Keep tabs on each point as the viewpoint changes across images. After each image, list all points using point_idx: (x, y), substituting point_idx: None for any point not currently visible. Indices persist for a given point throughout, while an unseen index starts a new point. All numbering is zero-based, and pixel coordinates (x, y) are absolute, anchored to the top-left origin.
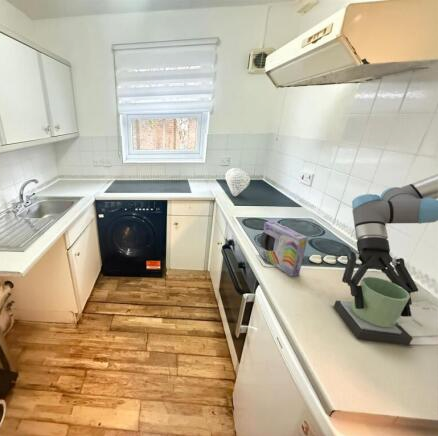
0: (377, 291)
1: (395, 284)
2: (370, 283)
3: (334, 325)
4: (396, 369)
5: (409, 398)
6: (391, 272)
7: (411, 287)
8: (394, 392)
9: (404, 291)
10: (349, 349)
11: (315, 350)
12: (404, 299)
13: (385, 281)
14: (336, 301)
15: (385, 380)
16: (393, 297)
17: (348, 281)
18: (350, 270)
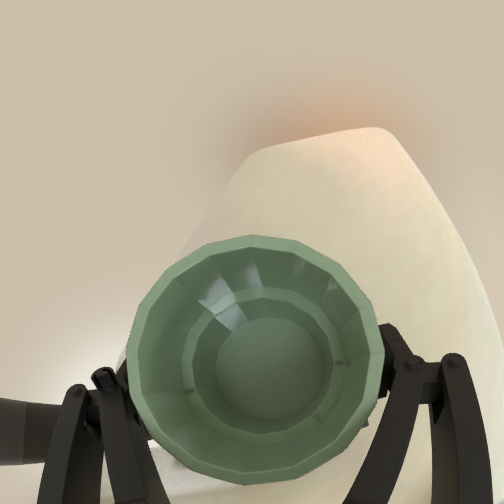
0: (233, 442)
1: (151, 425)
2: (279, 456)
3: (378, 320)
4: (265, 220)
5: (272, 166)
6: (141, 489)
7: (85, 403)
8: (293, 167)
9: (138, 357)
10: (355, 238)
11: (420, 206)
12: (190, 257)
13: (196, 456)
14: (367, 421)
15: (300, 184)
16: (181, 398)
17: (449, 353)
18: (472, 416)
